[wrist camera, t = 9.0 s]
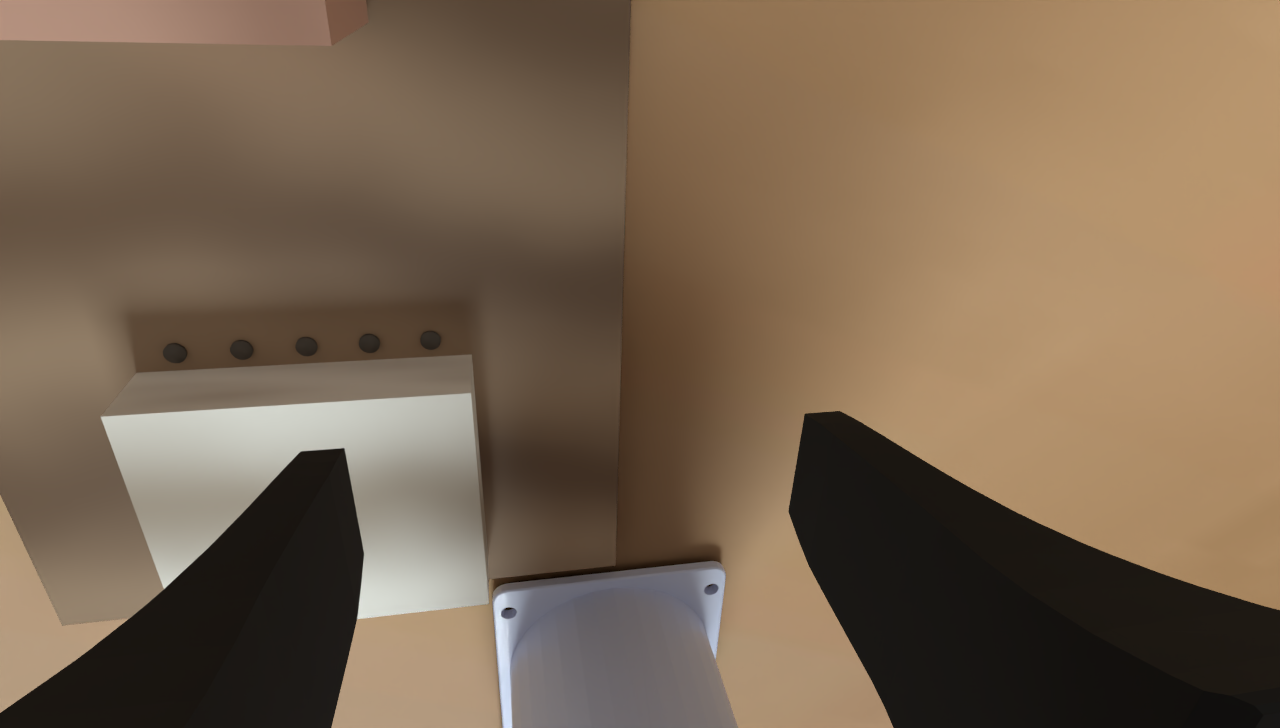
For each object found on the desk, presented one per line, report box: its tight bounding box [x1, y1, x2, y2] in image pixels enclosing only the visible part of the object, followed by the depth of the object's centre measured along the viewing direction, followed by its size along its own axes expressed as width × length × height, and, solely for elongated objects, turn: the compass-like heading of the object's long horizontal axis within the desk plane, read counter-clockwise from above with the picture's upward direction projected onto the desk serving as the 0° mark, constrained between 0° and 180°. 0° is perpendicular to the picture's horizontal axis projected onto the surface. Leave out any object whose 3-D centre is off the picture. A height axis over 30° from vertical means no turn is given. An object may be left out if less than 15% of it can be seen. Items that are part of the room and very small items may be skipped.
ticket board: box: [0, 0, 631, 626], centre depth 17 cm, size 22×16×3 cm
